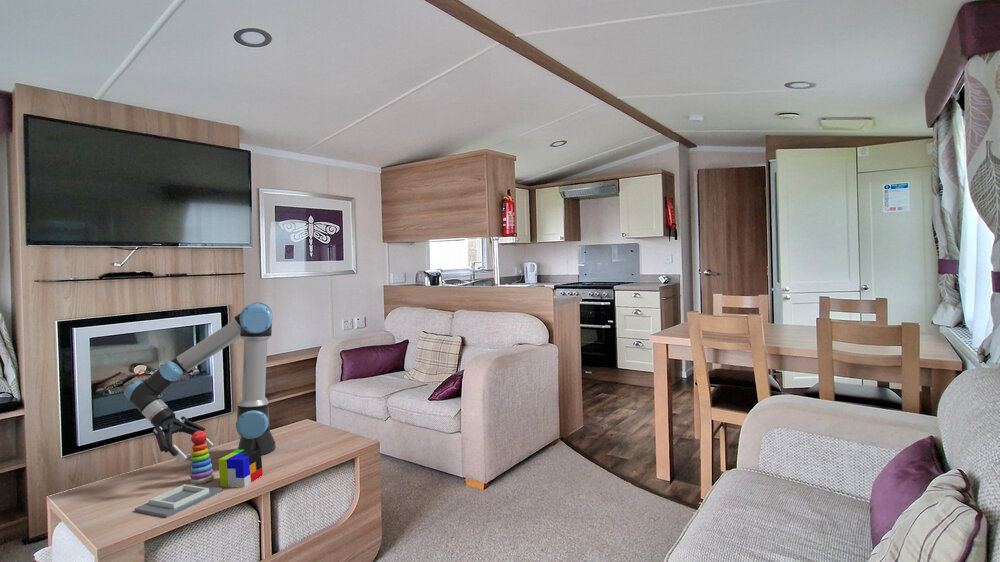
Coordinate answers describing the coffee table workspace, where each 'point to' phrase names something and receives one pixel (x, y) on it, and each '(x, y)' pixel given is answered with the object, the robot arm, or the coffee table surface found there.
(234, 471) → the puzzle toy
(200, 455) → the stacking toy
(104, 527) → the coffee table surface
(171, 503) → the board
